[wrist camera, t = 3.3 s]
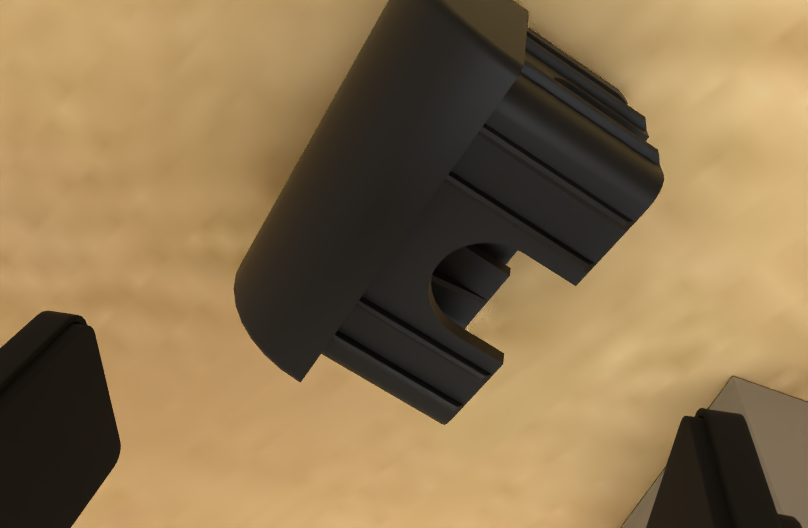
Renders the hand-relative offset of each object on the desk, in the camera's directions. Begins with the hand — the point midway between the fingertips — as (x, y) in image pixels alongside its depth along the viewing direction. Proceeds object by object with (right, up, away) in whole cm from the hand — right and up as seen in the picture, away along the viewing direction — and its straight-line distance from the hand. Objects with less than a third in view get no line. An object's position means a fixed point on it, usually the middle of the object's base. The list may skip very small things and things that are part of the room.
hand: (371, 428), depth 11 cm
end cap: (+2, +6, +11) cm, 13 cm away
